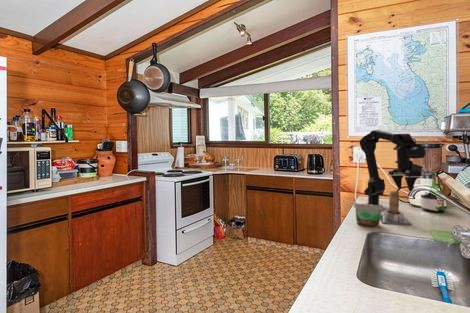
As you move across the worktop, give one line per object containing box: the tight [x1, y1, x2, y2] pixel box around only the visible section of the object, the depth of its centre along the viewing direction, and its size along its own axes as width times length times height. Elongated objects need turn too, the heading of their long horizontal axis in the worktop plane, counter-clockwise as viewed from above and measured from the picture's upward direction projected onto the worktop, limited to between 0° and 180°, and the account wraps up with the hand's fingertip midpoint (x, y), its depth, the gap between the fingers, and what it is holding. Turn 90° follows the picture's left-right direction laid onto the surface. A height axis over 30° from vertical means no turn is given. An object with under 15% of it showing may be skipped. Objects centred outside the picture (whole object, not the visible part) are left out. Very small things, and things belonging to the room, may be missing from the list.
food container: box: [353, 201, 384, 228], centre depth 138 cm, size 12×6×10 cm, turn 70°
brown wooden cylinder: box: [388, 190, 400, 214], centre depth 146 cm, size 4×4×13 cm
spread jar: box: [419, 188, 441, 213], centre depth 164 cm, size 12×11×12 cm
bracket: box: [379, 209, 412, 226], centre depth 146 cm, size 12×12×4 cm
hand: (405, 190), depth 152 cm, fingers open, 9 cm apart
